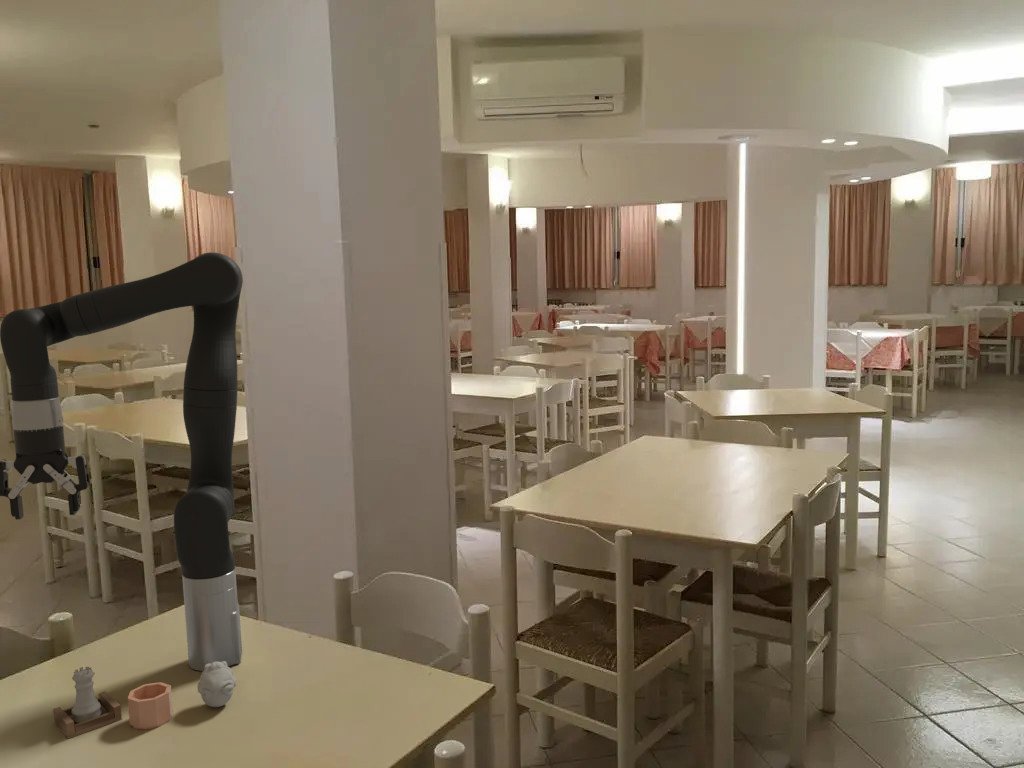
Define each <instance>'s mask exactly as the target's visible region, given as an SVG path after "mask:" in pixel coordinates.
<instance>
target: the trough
mask: <svg viewBox="0 0 1024 768" xmlns="http://www.w3.org/2000/svg"><path fill="white" fill-rule="evenodd" d="M96 699H97V700H98V702H99V703H100V704H101V708H100V709H101V710H102V713H101V715H100V716H97V717H95V718H92V719H89V720H86V721H83V722H80V723H76V722H74V721H73V720H72V716H73V715H72V713H71V712H72V709H73V707H74V706H71V707H69V708H66V709H63V708H61V706H57V707H54V708H52V714H53V723H54V725H56V727H58V729H59V730H60V731H61V732H62V733H63V735H64V736H66V738H67V739H71V738H74V737H77V736H80V735H82V734H85V733H88V732H91V731H93V730H95V729H99V728H102V727H105V726H107V725H110V724H113V723H115V722H118V721H121V720H122V718H123V717H122V706H121V704H120V703H119V702H118V701H117V700H115V698H113V697H112V696H111V695H110V694H109V693H108V692H106V691H102V692H98V698H96Z"/></svg>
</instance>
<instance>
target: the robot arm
mask: <svg viewBox="0 0 1024 768" xmlns="http://www.w3.org/2000/svg"><path fill="white" fill-rule="evenodd" d="M243 281H244V280H243V274H242V270H241V268H240V266H239V264H238V263H237V262H236V261H235V260H234V259H233V258H232V257H229V256H228V255H225V254H222V253H219V252H210V251H209V252H206V253H202V254H199V255H197V256H195V258H193V259H191V260H189V261H187V262H186V261H185V262H184V263H182V264H180V265H178V266H176V267H173V268H171V269H169V270H167V271H163V272H161V273H158V274H155V275H152V276H149V277H144V278H142V279H137V280H133V281H128V282H125V283H123V282H122V283H119V284H115V285H114V284H113V285H110V286H106V287H102V288H98V289H94V290H90V291H86V292H82V293H79V294H74V295H72V296H70V297H67V298H65V299H63V300H62V301H59V302H55V303H49V304H46V305H45V304H44V305H42V306H37V307H32V308H22V309H21V308H19V309H15V310H12V311H11V312H9V313H7V314H6V315H5V316H4V317H3V319H2V321H1V322H0V345H1V346H0V347H1V349H2V352H3V353H2V354H3V357H4V359H5V363H6V366H7V369H8V371H9V376H10V380H9V381H10V390H11V400H12V401H11V402H12V407H11V418H12V430H13V431H12V432H13V440H14V451H15V460H7V459H5V458H1V459H0V497H5V498H7V499H8V500H9V506H10V515H11V516H12V517H14V518H15V520H22V519H23V518H24V507H23V506H24V505H23V495H21V494H22V492H23V490H24V489H25V488H26V486H28V484H32V485H36V484H37V485H38V484H40V483H45V484H48V483H49V484H50V483H53V482H57V484H58V485H59V486H61V487H63V488H64V489H65V490H66V491H67V492H68V494H67V501H68V511H69V512H68V513H69V516H75V515H77V513H78V511H79V510H80V509H81V501H80V492H82V491H85V490H87V488H89V487H90V486H91V478H90V472H89V467H88V460H87V455H86V454H85V453H81V454H79V455H74V456H69V455H68V454H67V453H66V442H65V431H64V416H63V411H62V410H63V409H62V405H61V402H60V395H59V387H58V386H59V383H58V377H57V376H58V375H57V371H56V369H55V367H53V365H51V363H50V358H49V352H48V347H50V346H53V345H57V344H59V343H63V342H65V341H68V340H70V339H73V338H76V337H82V336H83V337H84V336H88V335H92V334H95V333H96V334H97V333H100V332H104V331H107V330H110V329H114V328H117V327H120V326H124V325H126V324H129V323H132V322H135V321H138V320H140V319H144V318H145V317H149V316H152V315H155V314H157V313H162V312H165V311H170V310H175V309H180V308H186V307H187V308H188V307H193V309H192V310H193V328H192V329H193V331H192V338H191V343H190V347H189V350H188V354H187V355H188V356H187V360H186V365H185V370H184V371H185V372H184V380H183V398H182V399H183V400H182V412H183V422H184V427H185V432H186V436H187V441H188V443H189V449H190V470H189V479H188V486H187V489H186V493H184V494H183V495H182V496H181V497H179V500H178V501H177V502H176V505H175V507H174V512H173V528H174V537H175V538H174V539H175V546H176V547H175V548H176V554H177V560H178V562H179V564H180V567H181V575H182V577H181V578H182V592H183V601H184V614H185V615H184V616H185V628H186V631H185V632H186V642H187V644H186V645H187V657H188V665H189V667H190V668H191V669H193V670H195V671H200V672H203V671H204V667H205V665H206V664H209V663H210V664H211V663H213V662H216V661H218V662H222V661H226V662H227V666H228V667H231V666H233V665H237V664H241V661H242V660H241V659H242V654H243V653H242V652H243V644H242V642H243V641H242V629H241V614H240V613H241V612H240V603H239V601H238V588H237V587H238V586H237V576H236V575H237V573H236V562H235V561H236V560H235V559H236V558H235V555H234V553H233V551H232V550H231V545H230V535H229V522H230V520H231V519H232V518H233V517H232V516H233V514H234V509H235V493H234V482H233V481H234V479H233V478H234V476H233V464H232V463H233V447H234V439H235V432H236V420H237V410H238V409H237V406H238V386H239V385H238V384H239V383H238V352H237V340H236V334H237V333H236V329H237V328H236V327H237V320H238V319H237V318H238V310H239V305H240V304H239V303H240V298H241V292H242V288H243ZM69 464H71V465H72V468H74V469H76V472H77V478H78V483H77V482H76V481H75V480H74V479H73V478H72V476H71V475H70V474H69V473H68V472H67V471H66V470H65V469H66V468H67V466H68V465H69ZM13 468H14V469H15V470H16V471H17V472H18V473H19V474H20V475H21V476H19V478H18V479H17V480H16V482H15V484H14V486H13V487H12V488H10V486H9V474H10V473H11V472H12V470H13ZM20 495H21V496H20Z"/></svg>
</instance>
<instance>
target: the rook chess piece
mask: <svg viewBox="0 0 1024 768" xmlns="http://www.w3.org/2000/svg"><path fill="white" fill-rule="evenodd" d="M94 675H95V672H94V671H93V670H92V667H90V666H85V669H84V667H83V666H81V667H79V669H78V668H77V669H74V672H73V675H72V677H71V680H72V681H74V682H75V685H74V686H73V687H74V689H75V692H76V693H75V702H74V704H73V706H72V707H73V709H72V712H71V713H72V715H73V716H72V720H73V721H74V722H76V723H80V722H83V721H86V720H89V719H92V718H95V717H97V716H100V715H101V713H102V710H101V709H100V708H101V704H100V703H99V702H98V700H97V699H98V698H96V694H95V691H94V684H95V682H94V681H93V677H94Z"/></svg>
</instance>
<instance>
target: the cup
mask: <svg viewBox="0 0 1024 768" xmlns="http://www.w3.org/2000/svg"><path fill="white" fill-rule="evenodd" d="M127 705H128V706H127V708H128V717H129V718H128V719H129V725H130V726H131V727H132V726H133V727H132V728H133V729H136V730H151V729H156V728H159V727H161V726H163V725H165V724H167V723H168V722H170V721H171V719H172V718H173V712H174V706H173V695H172V685H171V684H168V683H164V682H160V681H158V682H154V683H144V684H143V685H140V686H138V687H136V688H134V689H132V690H130V691H129V694H128V696H127Z"/></svg>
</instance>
